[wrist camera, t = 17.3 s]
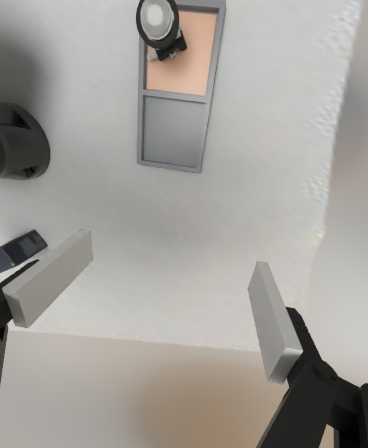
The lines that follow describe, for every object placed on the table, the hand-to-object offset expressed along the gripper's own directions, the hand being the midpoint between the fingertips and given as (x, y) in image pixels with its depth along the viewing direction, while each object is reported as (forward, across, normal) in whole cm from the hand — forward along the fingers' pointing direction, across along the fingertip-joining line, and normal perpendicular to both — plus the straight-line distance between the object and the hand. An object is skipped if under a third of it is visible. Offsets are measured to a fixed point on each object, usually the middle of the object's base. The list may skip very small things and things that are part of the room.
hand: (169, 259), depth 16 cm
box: (+29, -43, -24) cm, 57 cm away
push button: (+28, -8, +20) cm, 36 cm away
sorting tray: (+29, -6, +14) cm, 32 cm away
